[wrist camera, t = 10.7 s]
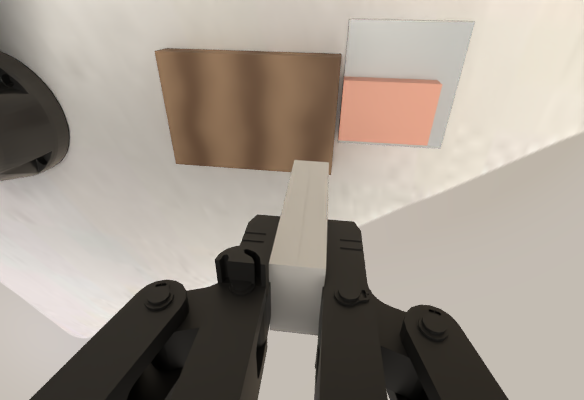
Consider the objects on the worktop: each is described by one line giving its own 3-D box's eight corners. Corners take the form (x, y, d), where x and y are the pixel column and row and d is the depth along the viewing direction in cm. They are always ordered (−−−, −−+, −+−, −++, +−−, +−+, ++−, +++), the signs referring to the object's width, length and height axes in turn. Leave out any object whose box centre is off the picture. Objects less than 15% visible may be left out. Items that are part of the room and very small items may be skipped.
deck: (185, 155, 40) (176, 163, 37) (166, 48, 33) (154, 51, 31) (331, 165, 38) (330, 174, 36) (341, 53, 31) (340, 57, 29)
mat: (338, 141, 36) (338, 142, 36) (349, 18, 30) (349, 19, 30) (439, 147, 35) (440, 148, 35) (473, 21, 29) (475, 21, 28)
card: (338, 133, 35) (338, 140, 34) (343, 76, 32) (343, 80, 30) (423, 138, 34) (427, 145, 33) (436, 80, 31) (442, 84, 30)
